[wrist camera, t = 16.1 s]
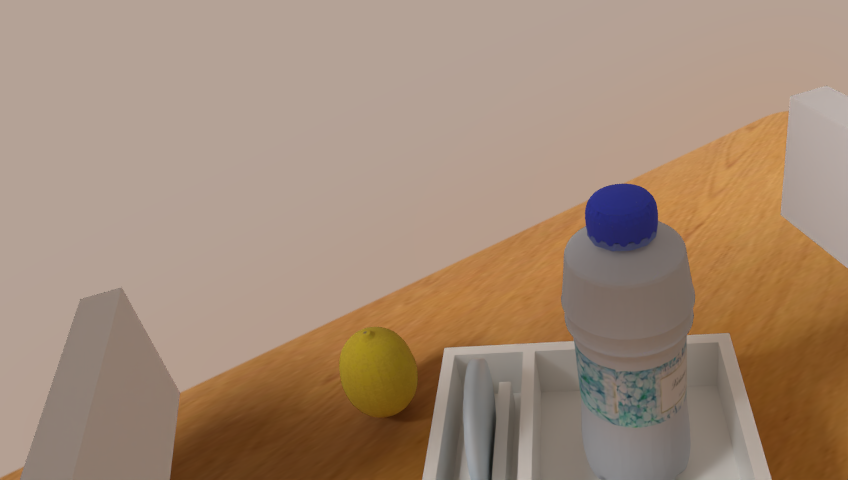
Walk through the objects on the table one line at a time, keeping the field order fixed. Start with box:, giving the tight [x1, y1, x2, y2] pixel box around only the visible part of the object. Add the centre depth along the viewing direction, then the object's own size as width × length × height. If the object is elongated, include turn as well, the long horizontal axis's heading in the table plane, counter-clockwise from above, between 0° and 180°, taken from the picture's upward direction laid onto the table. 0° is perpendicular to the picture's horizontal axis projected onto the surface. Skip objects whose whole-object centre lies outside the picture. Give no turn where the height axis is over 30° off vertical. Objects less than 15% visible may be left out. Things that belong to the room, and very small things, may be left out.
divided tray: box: [422, 333, 772, 480], centre depth 44 cm, size 19×14×9 cm
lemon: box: [339, 327, 418, 418], centre depth 53 cm, size 6×6×8 cm
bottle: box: [561, 184, 695, 480], centre depth 40 cm, size 7×7×20 cm
